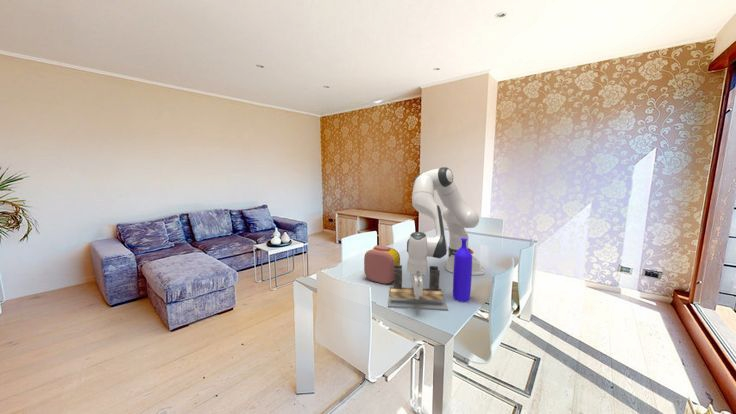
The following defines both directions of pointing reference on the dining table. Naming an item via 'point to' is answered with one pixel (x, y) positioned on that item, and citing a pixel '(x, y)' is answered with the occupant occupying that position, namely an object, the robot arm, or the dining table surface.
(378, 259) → the alarm clock
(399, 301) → the mat
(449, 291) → the dining table surface
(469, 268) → the bottle
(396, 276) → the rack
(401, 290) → the rail
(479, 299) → the dining table surface
